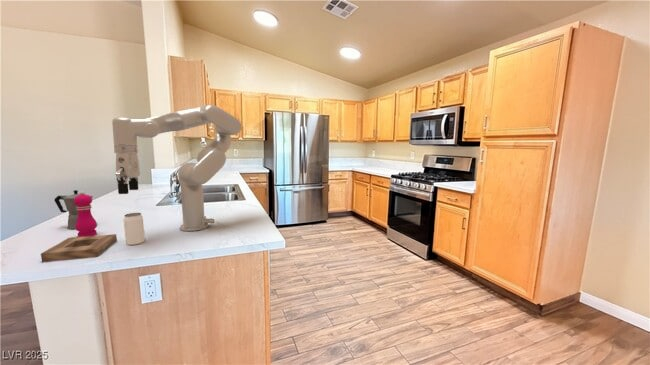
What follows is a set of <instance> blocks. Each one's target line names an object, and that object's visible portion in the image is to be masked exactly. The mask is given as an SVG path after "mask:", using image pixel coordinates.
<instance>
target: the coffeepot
mask: <svg viewBox="0 0 650 365" xmlns="http://www.w3.org/2000/svg"><path fill="white" fill-rule="evenodd" d="M78 192H79V191H78V190H77V189H76V190H73V193H74V194H71V195H70V194H69V195H57V196H56V197H55V198H54V202H55V204H56V206H57V208H58V210H59V211H60V213H67V212H68V215H67V217H68V219H67V230H76V229H75V224H76V221H77V219H78V210H76V209H77V208H76V207H77V205H75V204H74V198H75V197H76V196H78V195H80V194H79V193H78ZM90 196H91V198H92V199H93V195H90ZM61 200H63V202H64V204H65V208H66V210H65V209H64V206H63V205H62V204H61Z"/></svg>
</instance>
